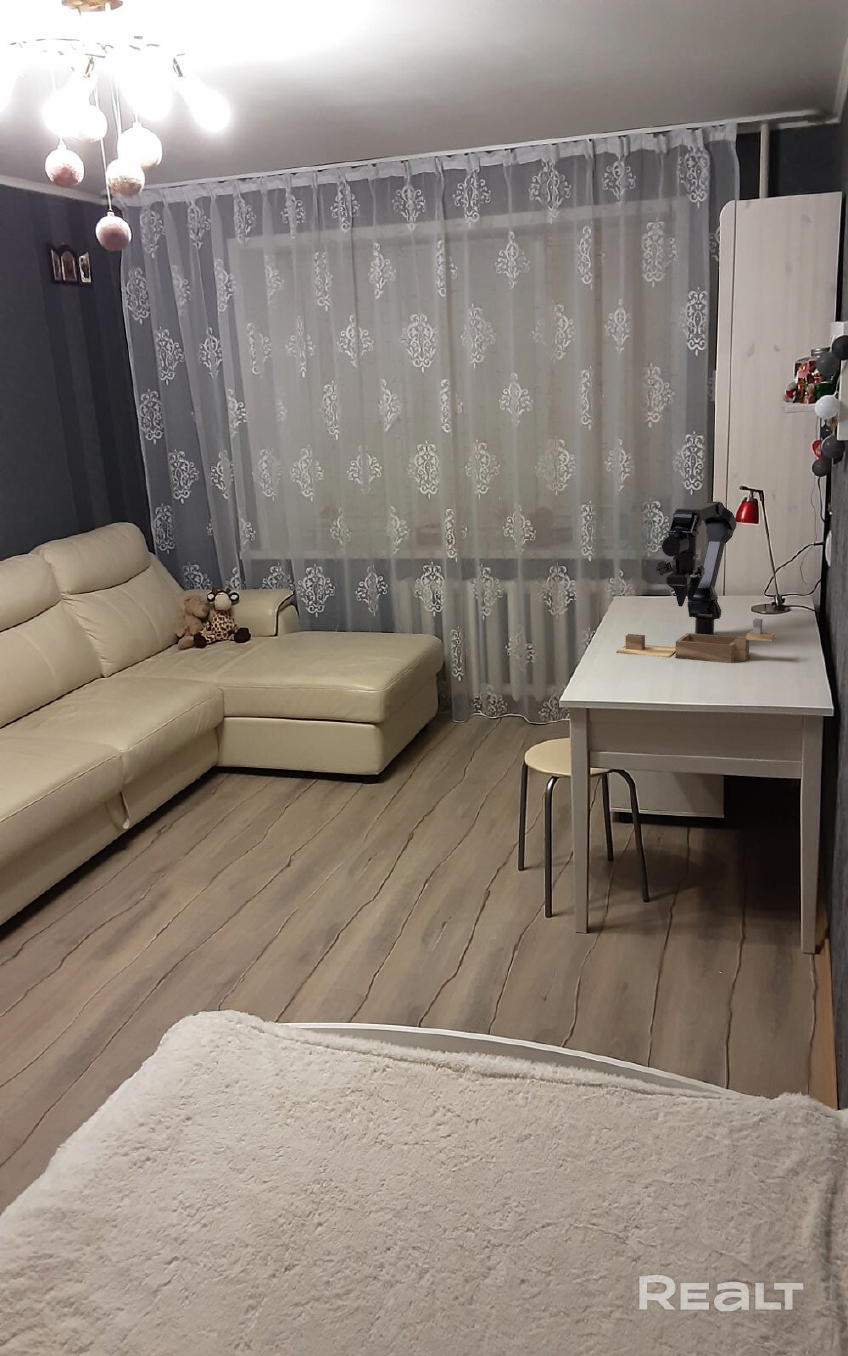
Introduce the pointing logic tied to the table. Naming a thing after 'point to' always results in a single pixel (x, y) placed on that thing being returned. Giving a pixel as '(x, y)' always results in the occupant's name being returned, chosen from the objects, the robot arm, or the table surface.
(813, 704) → the table surface
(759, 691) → the table surface
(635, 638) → the lid
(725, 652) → the toolbox
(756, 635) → the block
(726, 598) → the table surface
